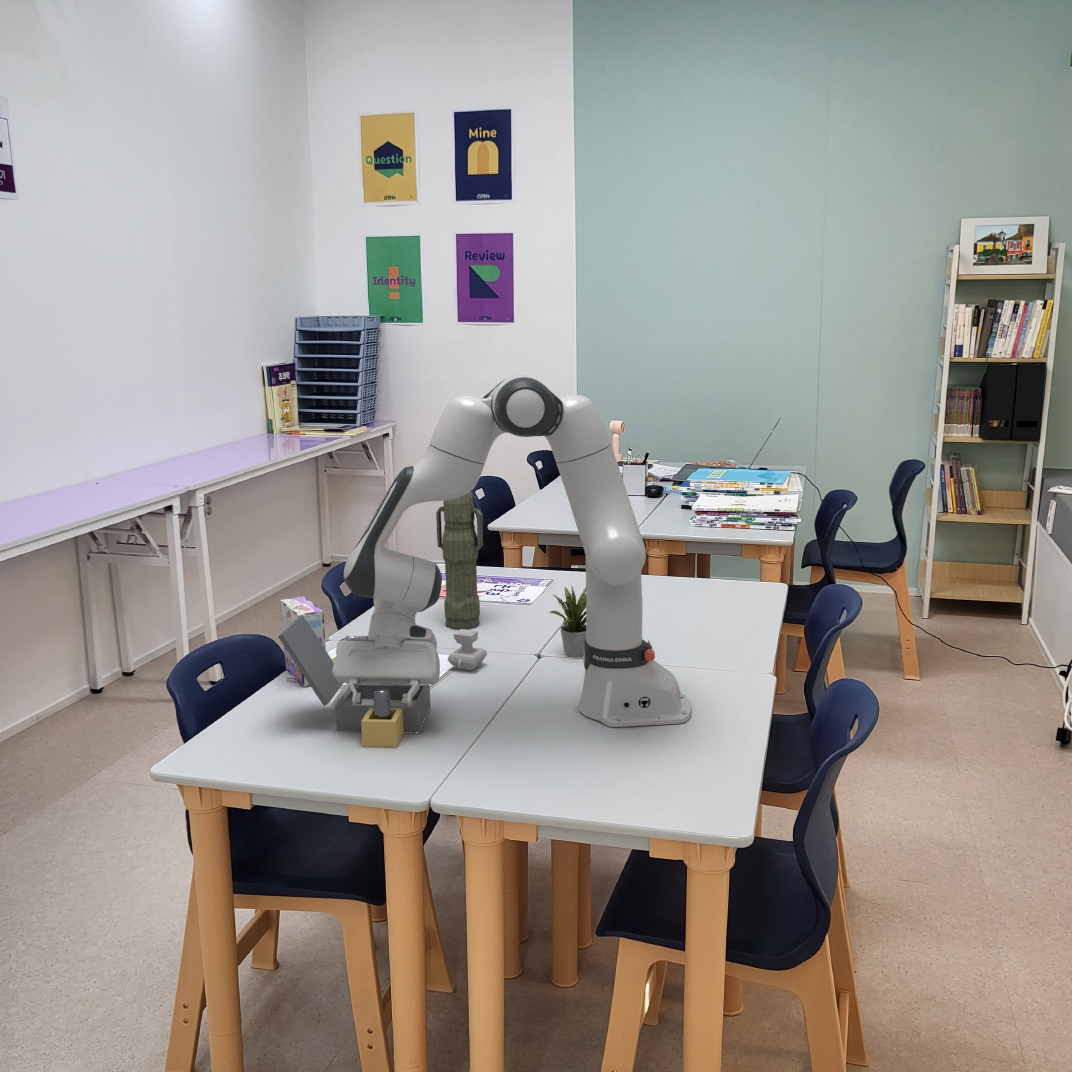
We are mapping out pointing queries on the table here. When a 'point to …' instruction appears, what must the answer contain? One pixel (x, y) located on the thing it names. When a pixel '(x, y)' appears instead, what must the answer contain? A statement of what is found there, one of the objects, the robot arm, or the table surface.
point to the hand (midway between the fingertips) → (381, 703)
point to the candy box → (314, 618)
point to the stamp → (467, 651)
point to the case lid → (311, 659)
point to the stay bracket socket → (382, 729)
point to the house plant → (573, 623)
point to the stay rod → (382, 703)
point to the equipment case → (354, 713)
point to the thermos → (460, 560)
